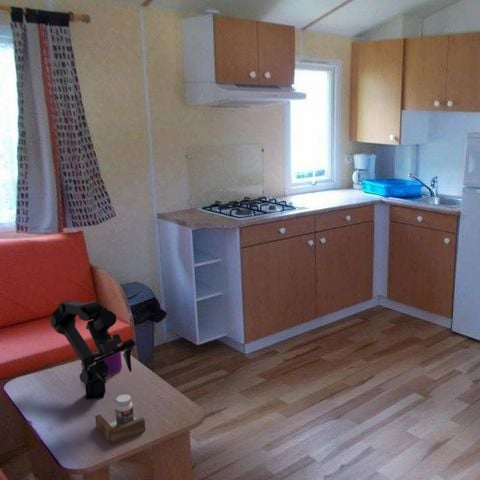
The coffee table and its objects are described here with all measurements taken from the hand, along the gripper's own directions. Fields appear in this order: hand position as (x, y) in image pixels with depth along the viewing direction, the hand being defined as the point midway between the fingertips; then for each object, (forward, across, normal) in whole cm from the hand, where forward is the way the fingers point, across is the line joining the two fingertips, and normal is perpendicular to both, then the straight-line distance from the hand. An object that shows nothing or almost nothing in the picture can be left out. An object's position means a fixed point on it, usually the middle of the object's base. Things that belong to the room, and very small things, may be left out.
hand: (118, 377), depth 179 cm
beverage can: (-6, +6, +34) cm, 35 cm away
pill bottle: (+15, -4, 0) cm, 16 cm away
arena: (+15, -6, 0) cm, 16 cm away
